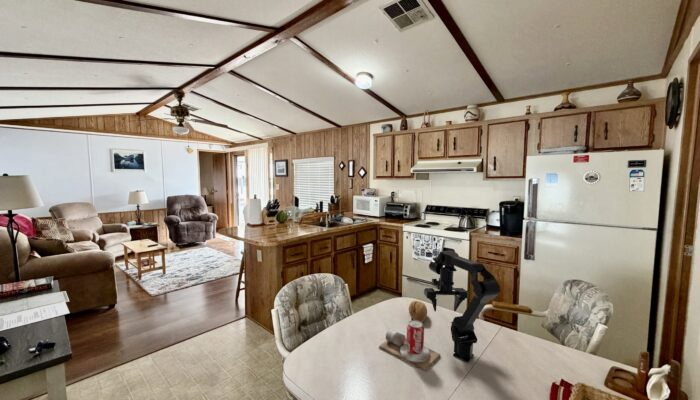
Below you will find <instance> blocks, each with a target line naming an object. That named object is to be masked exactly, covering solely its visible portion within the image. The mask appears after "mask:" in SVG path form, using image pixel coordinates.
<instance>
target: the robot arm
mask: <svg viewBox="0 0 700 400" xmlns="http://www.w3.org/2000/svg"><path fill="white" fill-rule="evenodd" d="M456 268H459V269H462V270H464V271H466V272H469V275H470V283H471V285H472V287H473V290H472V293H473V297H472V299H471V300H470V302H469V303H468V306H467V307H466V309H465V311H464V312H463V314H462V315H460V316H455V317H454V318H453V319H452V321H451V322H450V323H451V325H450V336H451V340H452V342H453V352H454V353H453V355H452V356H453V357H455V358H457V359H460V360H462V361H464V362H466V363H469V362H470V361H471V360H472V358H473V357H475V354H474V353H473V351H474V350H473V349H474V344H477V343H478V337H477V334H476V332H475V325H474V324H475V321H476V320H477V318H478V317H479V316H480V314H481V313H482V311H483V309H484V308H485V306H486V305H487V303H488V302H491V301H492V300H494V299H496V297H497V296H499V294H500V293H501V288H500V284H499V283H498V281H497V279H496V278H495V276H494V275H493V274H492V273H491V272H490V271H488V270H487V268H486V267H485V265H484V264H483V263H481V262H477V261H474V260H470V259H468V258H465V257H462V256H460V255H459V254H458V253H457V252H456V251H454V250H445V251H444V250H443V251H442V250H441V251H440V252H439V254H438V255H437V257H432V260H431V261H430V262H429V264H428V269H429V270H430V271H432V272H433V273H436V274H437V275H438V276H439V277H438V279H437V278H431V286H435V288H436V289H437V290H435V288H433V287H426V288H424V290H423V295H424V296H425V297H426V299H429V301H431V304H432V307H433V311H434V312H437V301H438V300H437V296H454V302H453V311H454V312H457V310H458V308H459V306H460V305H461V303H463V302H464V301H465V300H467V299H468V298H469V292H468V291H466V289H465V288H463V287H455V288H454V287H453V286H454V285H455V282H454V272H457V269H456ZM478 274H479V275H480V276H482V277H483V279H485V280H478ZM453 288H454V290H453Z"/></svg>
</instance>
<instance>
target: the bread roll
mask: <svg viewBox="0 0 700 400" xmlns="http://www.w3.org/2000/svg"><path fill="white" fill-rule="evenodd" d="M408 313H409V315H410V317H411V318H412V320H417V321H420V322H421V323H423V322H424V321H425V320H426V318H427V315H428V309H427V305H426V303H424V302H422V301H419V300H413V301H411V303H410V304H409V305H408Z"/></svg>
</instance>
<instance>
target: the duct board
mask: <svg viewBox="0 0 700 400" xmlns="http://www.w3.org/2000/svg"><path fill="white" fill-rule="evenodd" d="M406 338H407V337H406V335H405V334H402V333H401V332H398V331H396V330H394V329H391V328H389V329H388V330H387V331H386V333H385V341H384V342H382V343H381V344H380V345H379V346H378V348H379V349H380V350H382V351H384V352H387V354H391V355H392V356H394V357H396V358H398V359H400V360H402V361H404V362H406V363H407V364H410V365H412V366H414V367H416V368H417V369H419V370H422V371H424V372H426V371H427V370H428V369H430V367H431V366H432V365H433V364H434V363H435V362H436V361H437V360H438V359H439V358H440V357H441V353H439V352H437V351H435V350H432V349H430V348H428V347H426V346H425V345H424V347H423V352H422V353H420V354H418V355H415V354H411V353H410V352H409V351H408V350H407V347H406Z"/></svg>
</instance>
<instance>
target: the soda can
mask: <svg viewBox="0 0 700 400" xmlns="http://www.w3.org/2000/svg"><path fill="white" fill-rule="evenodd" d="M423 325H424V323H423V322H420V321H417V320H413V319H412V320H409V322H408V324H407V326H406V337H405V338H406V347H407V350H408V351H409V352H410V353H411V354H415V355H418V354H420V353H422V352H423V347H424V346H425V345H424V343H425V342H424V341H425V328H424V326H423Z"/></svg>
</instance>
